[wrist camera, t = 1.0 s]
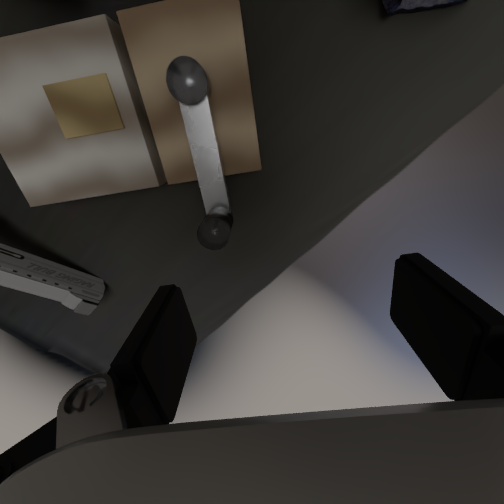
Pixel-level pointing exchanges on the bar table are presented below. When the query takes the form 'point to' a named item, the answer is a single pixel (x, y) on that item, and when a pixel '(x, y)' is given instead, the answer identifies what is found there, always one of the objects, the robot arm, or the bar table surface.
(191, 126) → the bar
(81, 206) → the bar table surface
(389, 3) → the rock
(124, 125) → the wooden latch block
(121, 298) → the bar table surface
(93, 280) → the revolver
